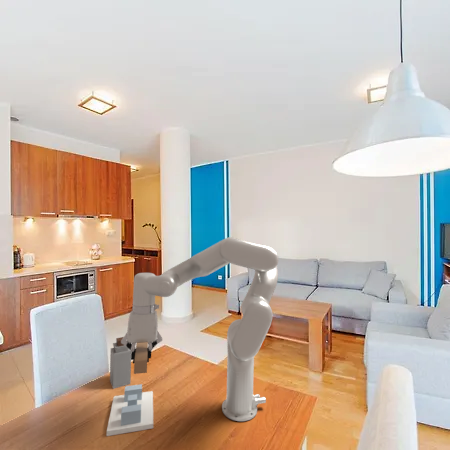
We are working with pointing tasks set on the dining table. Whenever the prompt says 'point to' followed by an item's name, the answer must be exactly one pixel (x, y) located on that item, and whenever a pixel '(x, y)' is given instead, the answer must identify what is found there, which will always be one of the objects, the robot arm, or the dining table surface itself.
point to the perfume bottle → (120, 364)
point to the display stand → (131, 411)
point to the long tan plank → (141, 358)
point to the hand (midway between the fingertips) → (141, 360)
